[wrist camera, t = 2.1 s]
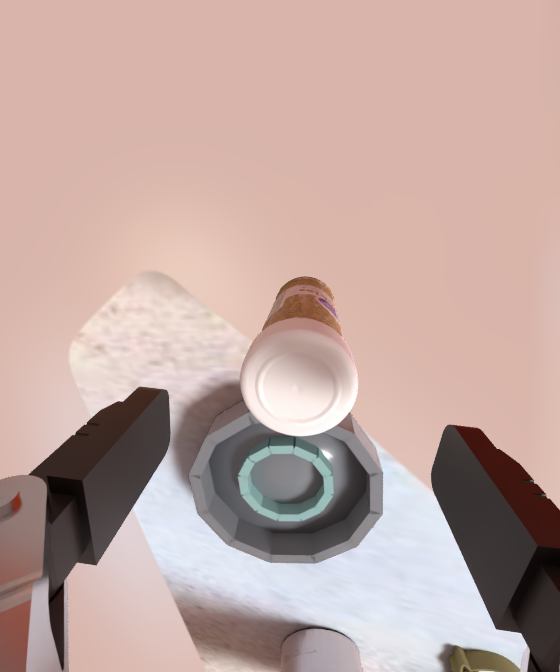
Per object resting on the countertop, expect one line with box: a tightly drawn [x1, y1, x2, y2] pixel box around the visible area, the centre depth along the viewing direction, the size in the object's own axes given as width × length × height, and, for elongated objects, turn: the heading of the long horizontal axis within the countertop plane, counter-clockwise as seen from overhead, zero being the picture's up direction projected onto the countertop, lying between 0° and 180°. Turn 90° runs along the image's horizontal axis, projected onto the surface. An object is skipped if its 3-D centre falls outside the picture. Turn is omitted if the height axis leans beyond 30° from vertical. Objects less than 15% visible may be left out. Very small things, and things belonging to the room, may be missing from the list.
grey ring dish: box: [189, 400, 383, 563], centre depth 28 cm, size 16×16×3 cm
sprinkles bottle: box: [240, 277, 358, 436], centre depth 18 cm, size 5×5×13 cm
